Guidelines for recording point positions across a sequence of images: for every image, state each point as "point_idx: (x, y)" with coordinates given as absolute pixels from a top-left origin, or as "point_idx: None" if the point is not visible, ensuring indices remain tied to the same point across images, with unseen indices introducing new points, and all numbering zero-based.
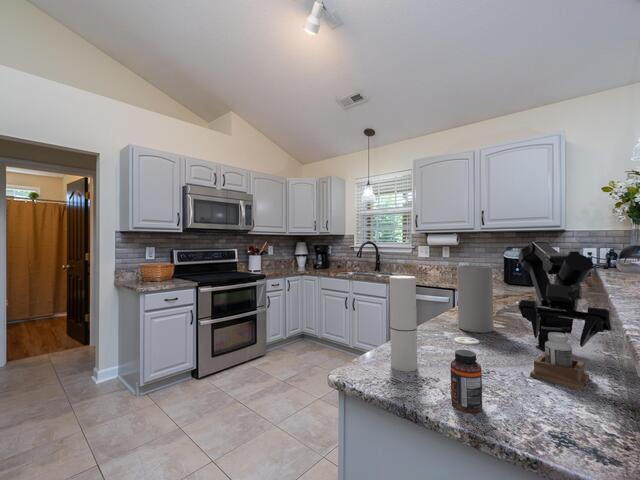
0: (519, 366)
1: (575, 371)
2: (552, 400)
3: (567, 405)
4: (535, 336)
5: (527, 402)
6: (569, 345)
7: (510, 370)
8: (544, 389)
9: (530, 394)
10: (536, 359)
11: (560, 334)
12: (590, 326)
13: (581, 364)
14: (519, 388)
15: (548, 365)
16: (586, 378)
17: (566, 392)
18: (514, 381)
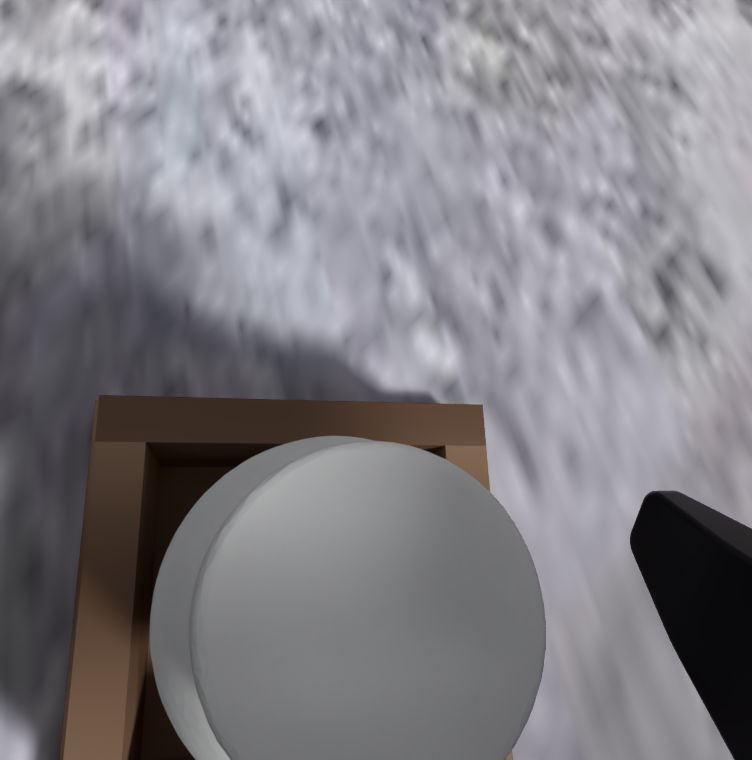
0: (597, 609)
1: (120, 399)
2: (238, 117)
3: (156, 102)
4: (652, 491)
5: (336, 15)
6: (172, 608)
7: (598, 447)
8: (315, 251)
9: (356, 121)
10: (482, 476)
11: (330, 640)
12: None
13: (78, 696)
14: (430, 165)
15: (355, 405)
16: (68, 677)
17: (190, 300)
18: (493, 253)
